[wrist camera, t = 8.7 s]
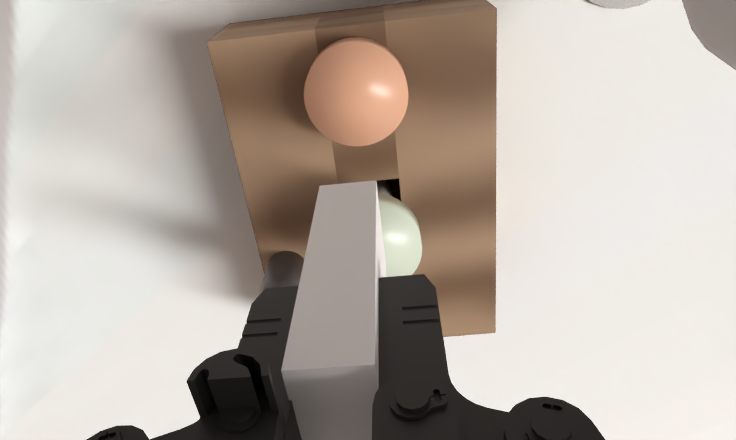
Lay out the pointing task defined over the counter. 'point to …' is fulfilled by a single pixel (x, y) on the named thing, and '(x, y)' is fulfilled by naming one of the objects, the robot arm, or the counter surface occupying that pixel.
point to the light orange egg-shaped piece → (356, 92)
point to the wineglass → (702, 23)
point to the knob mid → (398, 233)
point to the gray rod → (283, 270)
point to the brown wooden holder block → (387, 157)
